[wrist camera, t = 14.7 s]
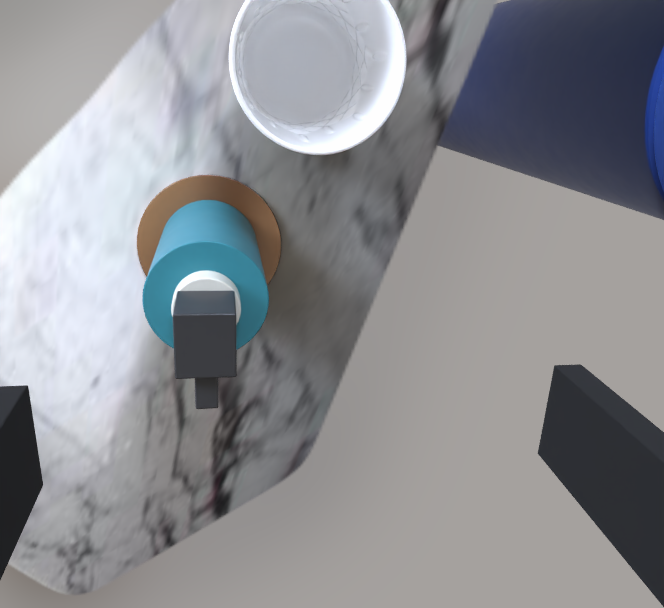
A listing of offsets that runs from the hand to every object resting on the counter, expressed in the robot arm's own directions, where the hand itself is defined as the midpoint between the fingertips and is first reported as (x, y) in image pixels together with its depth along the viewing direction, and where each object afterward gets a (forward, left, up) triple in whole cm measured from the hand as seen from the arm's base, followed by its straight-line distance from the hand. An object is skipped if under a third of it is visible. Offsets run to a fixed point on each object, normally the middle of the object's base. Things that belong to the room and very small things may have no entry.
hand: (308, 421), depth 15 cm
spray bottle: (+3, +2, -25) cm, 25 cm away
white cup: (-2, -9, -25) cm, 27 cm away
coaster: (+3, +2, -25) cm, 25 cm away
